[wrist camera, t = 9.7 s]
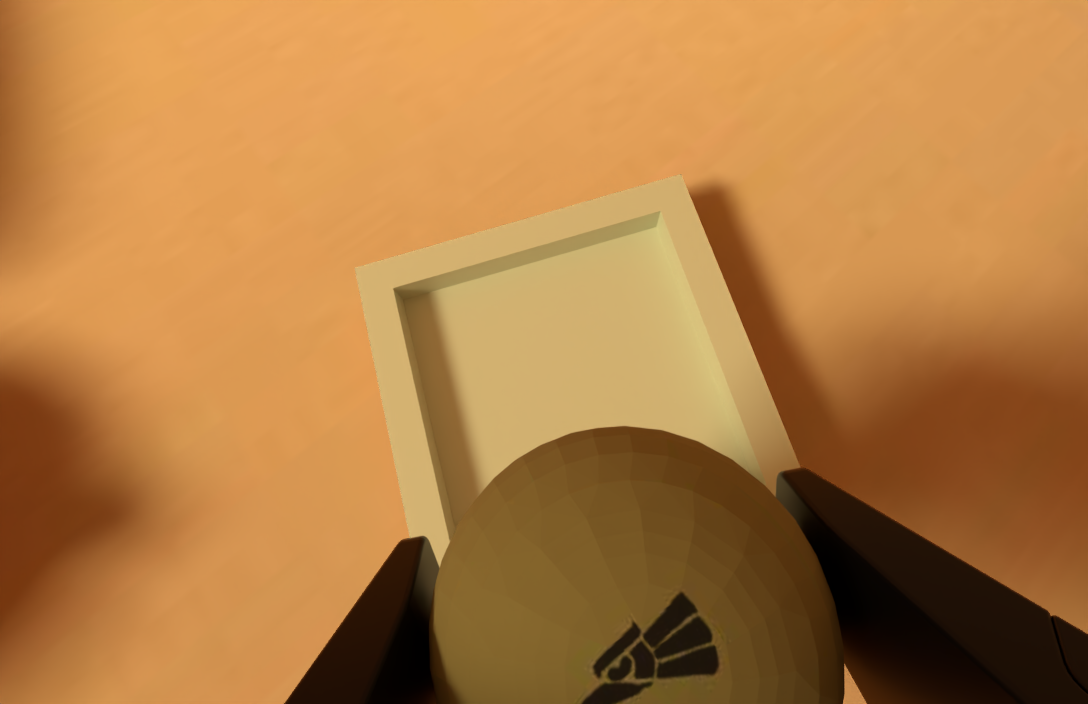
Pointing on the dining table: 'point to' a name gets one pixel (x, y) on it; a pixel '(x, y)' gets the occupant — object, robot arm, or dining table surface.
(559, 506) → the light bulb
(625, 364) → the tray
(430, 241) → the dining table surface
